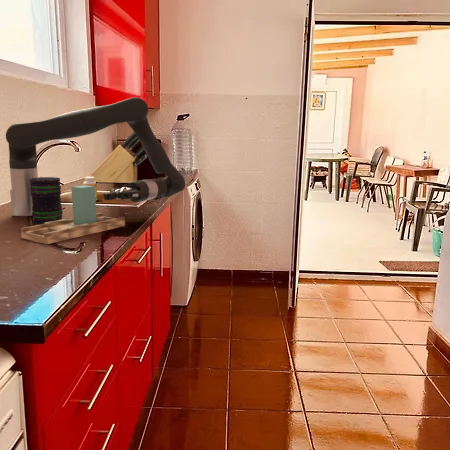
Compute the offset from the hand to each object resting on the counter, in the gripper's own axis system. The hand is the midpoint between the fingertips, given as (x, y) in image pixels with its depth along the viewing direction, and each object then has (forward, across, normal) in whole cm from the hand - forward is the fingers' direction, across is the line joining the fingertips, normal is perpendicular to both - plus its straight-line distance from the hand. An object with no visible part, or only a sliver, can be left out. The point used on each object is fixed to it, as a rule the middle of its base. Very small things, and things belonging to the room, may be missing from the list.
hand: (105, 196), depth 154 cm
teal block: (+9, 0, +8) cm, 12 cm away
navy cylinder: (+9, -20, +10) cm, 24 cm away
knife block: (-82, -82, +10) cm, 116 cm away
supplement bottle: (-30, -45, +10) cm, 55 cm away
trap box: (+12, 0, +9) cm, 16 cm away
